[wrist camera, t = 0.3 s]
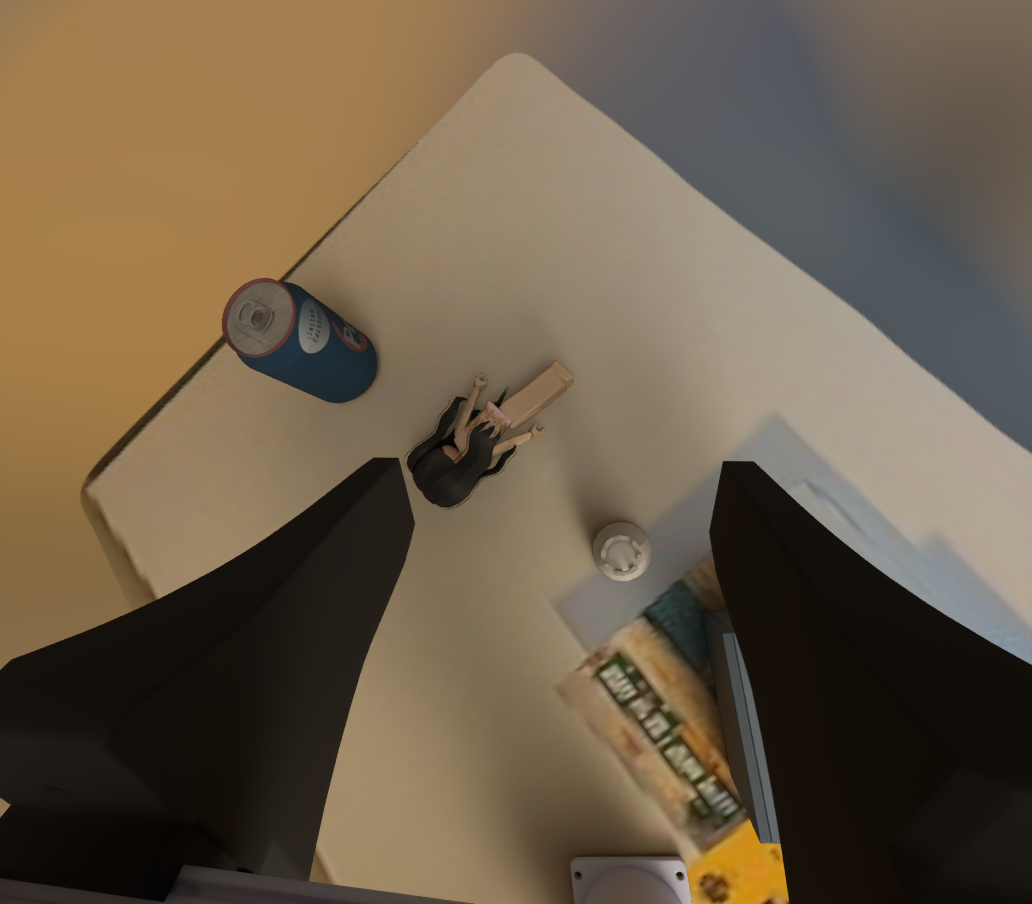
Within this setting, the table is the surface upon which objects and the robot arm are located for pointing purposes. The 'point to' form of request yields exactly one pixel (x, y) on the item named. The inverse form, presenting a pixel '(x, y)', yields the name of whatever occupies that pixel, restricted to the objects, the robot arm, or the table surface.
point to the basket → (740, 725)
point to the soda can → (298, 340)
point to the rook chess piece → (622, 551)
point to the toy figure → (480, 437)
